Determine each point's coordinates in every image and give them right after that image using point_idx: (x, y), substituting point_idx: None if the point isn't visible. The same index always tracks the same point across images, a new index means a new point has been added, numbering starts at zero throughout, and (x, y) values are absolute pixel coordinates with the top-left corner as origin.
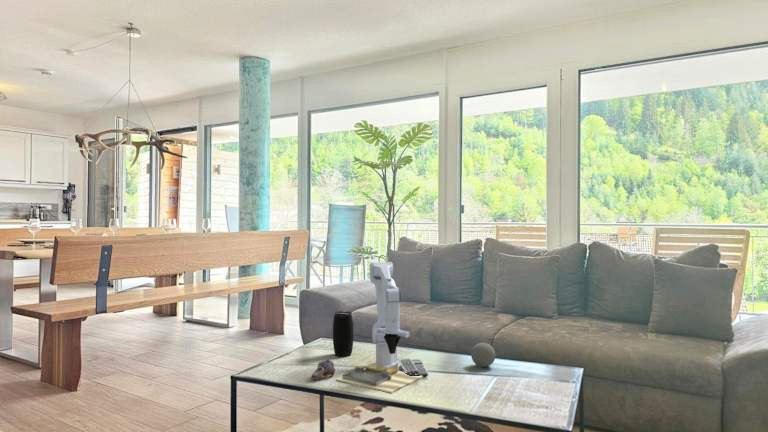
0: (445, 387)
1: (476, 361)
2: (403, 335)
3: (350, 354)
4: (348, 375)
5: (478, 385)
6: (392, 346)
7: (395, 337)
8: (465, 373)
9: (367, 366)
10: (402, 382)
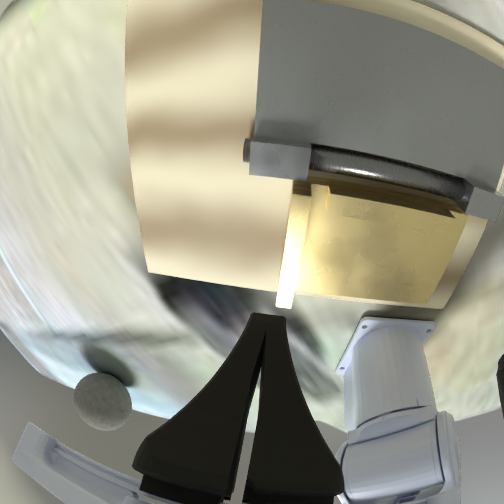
0: (36, 201)
1: (102, 381)
2: (71, 461)
3: (500, 362)
4: (496, 81)
5: (17, 260)
6: (223, 369)
7: (134, 463)
8: (97, 336)
9: (448, 229)
10: (160, 138)
